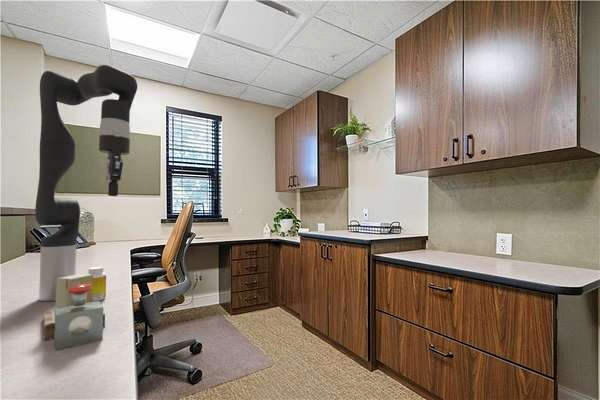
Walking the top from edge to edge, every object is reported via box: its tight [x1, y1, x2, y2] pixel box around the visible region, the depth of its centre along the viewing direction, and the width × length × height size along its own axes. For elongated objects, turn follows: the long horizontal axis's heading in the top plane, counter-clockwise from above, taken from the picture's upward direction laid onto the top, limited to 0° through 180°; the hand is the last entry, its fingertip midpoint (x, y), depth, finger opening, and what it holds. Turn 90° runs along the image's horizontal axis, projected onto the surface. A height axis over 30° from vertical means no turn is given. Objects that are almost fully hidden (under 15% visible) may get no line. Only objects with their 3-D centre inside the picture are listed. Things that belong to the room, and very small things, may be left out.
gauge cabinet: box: [53, 300, 104, 352], centre depth 63 cm, size 6×8×7 cm
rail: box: [43, 309, 106, 341], centre depth 73 cm, size 18×11×3 cm, turn 42°
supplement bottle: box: [88, 266, 107, 302], centre depth 94 cm, size 6×6×10 cm
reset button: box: [68, 284, 91, 306], centre depth 64 cm, size 4×4×4 cm
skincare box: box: [54, 273, 93, 310], centre depth 72 cm, size 6×4×12 cm
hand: (112, 195), depth 84 cm, fingers closed
